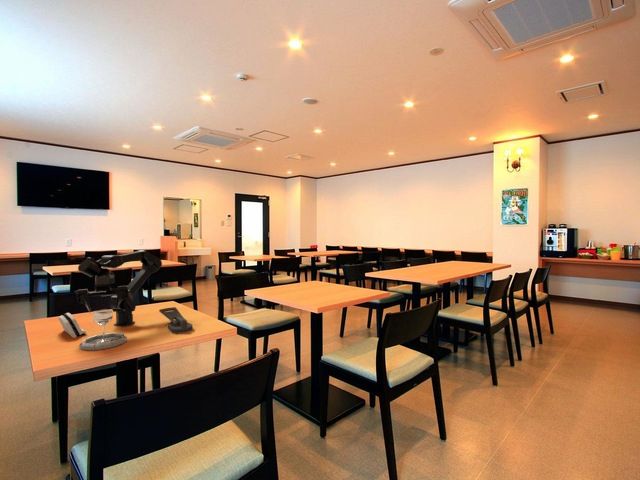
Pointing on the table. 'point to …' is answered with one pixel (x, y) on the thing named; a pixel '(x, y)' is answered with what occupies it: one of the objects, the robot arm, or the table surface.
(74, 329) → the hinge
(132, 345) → the table surface
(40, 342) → the table surface
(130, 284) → the robot arm
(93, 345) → the rosette plate
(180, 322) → the zipper pull
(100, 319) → the wineglass
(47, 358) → the table surface
